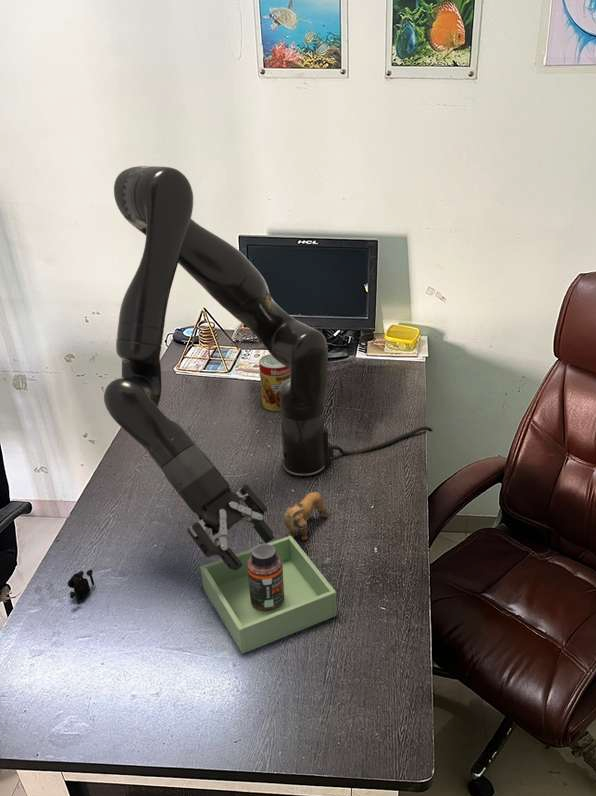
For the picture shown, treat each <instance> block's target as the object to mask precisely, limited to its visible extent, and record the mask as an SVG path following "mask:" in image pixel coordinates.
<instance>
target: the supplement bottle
mask: <svg viewBox="0 0 596 796" xmlns="http://www.w3.org/2000/svg"><path fill="white" fill-rule="evenodd" d="M251 549H252V556H251V557H250V559H249V560H248V563H247V569H248V579H249V590H250V599H251V603H252V605H253V606H254V607H256V608H257V609H260V610H272V609H275V608H277V607H279V606H280V605H281V604H282V602H283V600H284V584H283V567H282V560H281V558H280V557H279V556H278V555H277V554H276V550H275V548H274V547H273V546H272V545H269V544H268V543H260V544H258V545H255V546H254V547H253V548H251Z"/></svg>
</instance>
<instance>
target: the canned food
mask: <svg viewBox="0 0 596 796" xmlns="http://www.w3.org/2000/svg"><path fill="white" fill-rule="evenodd" d="M258 366H259V378H260V392H261V405H262V408H264V409H266V410H267V411H272V412H280V398H279V388H280V385H281V384H282V383H283V382H284V381H285V380H287V379H290V378H291V370H290V368H289V367H287V366H285V365H283V364H281V363H280V362H278V361H277V360H276V359H275V358H274V357H273V356H272V355H271V354H270V353H268V354H265V355H263V356H261V357H260V358H259V360H258Z"/></svg>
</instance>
